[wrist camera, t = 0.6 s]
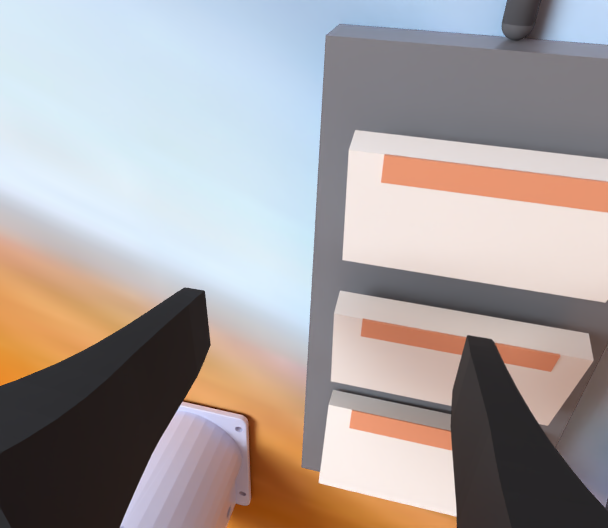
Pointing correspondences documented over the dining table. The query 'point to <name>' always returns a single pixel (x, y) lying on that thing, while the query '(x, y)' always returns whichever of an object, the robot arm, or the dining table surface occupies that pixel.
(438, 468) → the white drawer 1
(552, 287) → the white tile
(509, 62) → the grey flat board
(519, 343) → the block
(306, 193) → the dining table surface
